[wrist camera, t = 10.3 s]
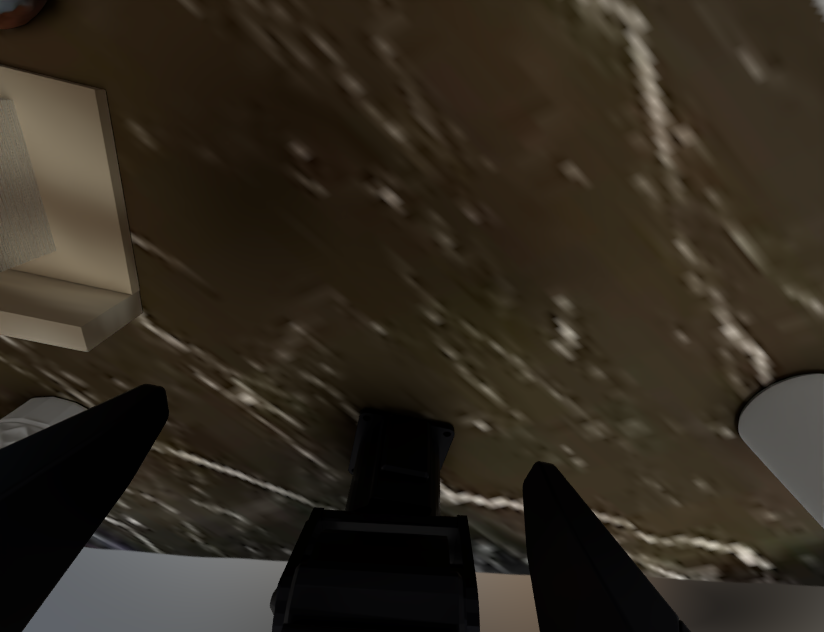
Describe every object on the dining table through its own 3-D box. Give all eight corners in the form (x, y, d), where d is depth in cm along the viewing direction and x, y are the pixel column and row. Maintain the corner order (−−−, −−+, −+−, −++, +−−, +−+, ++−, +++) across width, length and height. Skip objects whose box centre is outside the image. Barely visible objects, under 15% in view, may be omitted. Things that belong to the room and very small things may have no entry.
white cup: (24, 449, 29) (-152, 597, 20) (2, 375, 25) (-227, 518, 16) (128, 474, 30) (3, 626, 21) (123, 407, 26) (-33, 559, 17)
